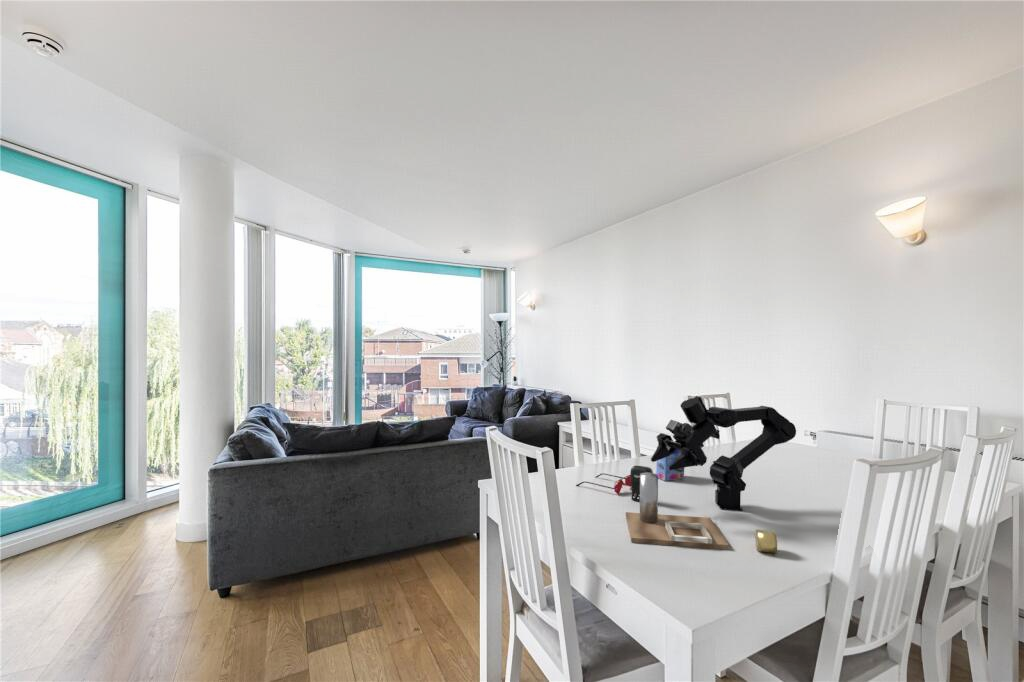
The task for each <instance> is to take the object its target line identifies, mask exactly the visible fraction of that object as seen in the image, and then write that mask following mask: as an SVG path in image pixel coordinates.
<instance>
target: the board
mask: <svg viewBox="0 0 1024 682" xmlns="http://www.w3.org/2000/svg"><path fill="white" fill-rule="evenodd" d="M625 519H626V523H627V529H628V533H629V537H630V541H631V542H630V543H637V544H648V545H649V544H650V545H660V546H662V545H664V546H672V547H673V546H675V547H687V548H689V547H690V548H702V549H715V550H716V549H717V550H726V551H728V550H730V544H729V543H728V541H727V540H726V539H725V537H724V536H723V534H722V533H721V531H720V530H719V528H718V527H717V526H716V524H715V522H714V521H713V520H712V518H711V517H707V516H706V517H705V516H692V515H690V516H689V515H676V514H674V515H673V514H659V513H658V522H657V523H653V524H650V523H644V522H642V521H640V512H625Z"/></svg>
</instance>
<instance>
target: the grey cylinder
mask: <svg viewBox="0 0 1024 682" xmlns="http://www.w3.org/2000/svg"><path fill="white" fill-rule="evenodd" d="M639 513H640V521H642V522H644V523H650V524H653V523H657V522H658V514H659V478H658V475H657V474H656V473H654V472H653V473H648V472H645V473H641V474H640V502H639Z"/></svg>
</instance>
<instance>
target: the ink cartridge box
mask: <svg viewBox="0 0 1024 682" xmlns="http://www.w3.org/2000/svg"><path fill="white" fill-rule="evenodd" d="M673 441H674V440H673ZM675 441H676V440H675ZM675 441H674V442H675ZM681 453H682V452H681V451H679V450H676V451H675V452H674V453H671V455H670V456H668V457H665V458H663V459H660V460H658V461H656V469H655V470H656V472H655V474H657V475H658V480H659V479H660V480H662V481H664V482H669V481H675V480H683V479H685V467H684V468H679V469H675V470H670V469H669V466H670V465H671V464H672V463H673V462H674V461H675V460H676V459H677V458H678V457H679V456H680V455H681Z"/></svg>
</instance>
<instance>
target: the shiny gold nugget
mask: <svg viewBox="0 0 1024 682" xmlns="http://www.w3.org/2000/svg"><path fill="white" fill-rule="evenodd" d="M754 534H755V535H754V536H755V537H754V538H755V547H756V551H757V552H763V553H769V554H777V553H778V540H777V533H776V532H775V531H771V530H770V531H769V530H763V529H755V533H754Z"/></svg>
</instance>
